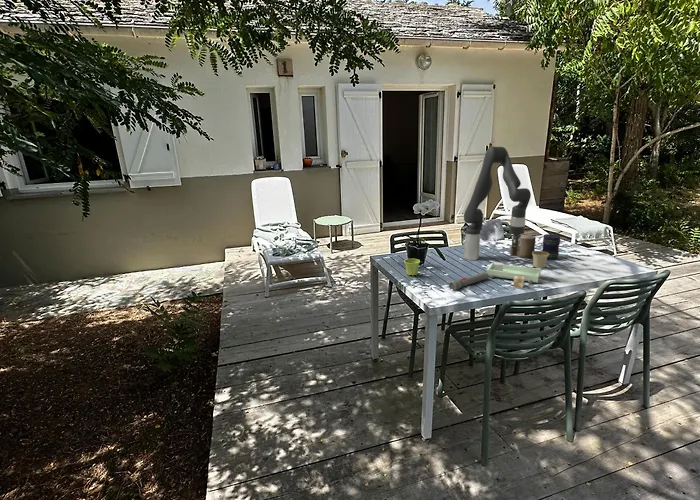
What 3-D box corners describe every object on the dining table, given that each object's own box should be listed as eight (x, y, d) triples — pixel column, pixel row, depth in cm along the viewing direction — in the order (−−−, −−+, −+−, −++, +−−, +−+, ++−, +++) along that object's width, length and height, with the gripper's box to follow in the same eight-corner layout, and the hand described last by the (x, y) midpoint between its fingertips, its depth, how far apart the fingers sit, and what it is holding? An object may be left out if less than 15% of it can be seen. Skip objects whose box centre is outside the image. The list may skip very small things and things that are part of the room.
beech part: (513, 287, 206) (514, 278, 205) (514, 284, 210) (515, 275, 209) (522, 288, 204) (523, 279, 203) (523, 285, 208) (524, 276, 206)
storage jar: (544, 254, 259) (546, 233, 255) (560, 257, 253) (562, 235, 249) (538, 258, 253) (541, 236, 249) (554, 261, 246) (557, 238, 242)
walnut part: (510, 255, 217) (510, 246, 215) (511, 253, 220) (512, 245, 219) (518, 256, 214) (519, 247, 213) (519, 254, 218) (520, 245, 217)
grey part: (494, 272, 223) (494, 264, 222) (494, 270, 227) (495, 262, 226) (502, 273, 222) (503, 265, 220) (502, 270, 226) (503, 262, 224)
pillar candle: (536, 258, 252) (538, 236, 249) (521, 258, 253) (523, 236, 249) (530, 254, 262) (532, 233, 258) (515, 254, 262) (517, 233, 258)
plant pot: (410, 278, 223) (410, 264, 221) (400, 273, 232) (400, 260, 229) (423, 275, 228) (423, 261, 225) (413, 271, 236) (413, 257, 233)
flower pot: (549, 269, 231) (551, 255, 229) (532, 268, 233) (534, 255, 231) (545, 264, 240) (546, 251, 238) (529, 264, 242) (530, 250, 240)
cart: (485, 277, 221) (485, 270, 220) (491, 269, 234) (492, 262, 233) (537, 285, 207) (537, 277, 206) (540, 275, 221) (541, 268, 220)
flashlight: (489, 280, 217) (490, 272, 216) (455, 291, 203) (455, 283, 201) (482, 278, 221) (482, 269, 220) (448, 289, 207) (448, 280, 205)
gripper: (512, 221, 220) (510, 250, 225) (508, 226, 209) (505, 256, 213) (526, 222, 217) (523, 252, 221) (523, 227, 205) (520, 258, 210)
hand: (515, 254), depth 217 cm, fingers closed on walnut part, 4 cm apart
